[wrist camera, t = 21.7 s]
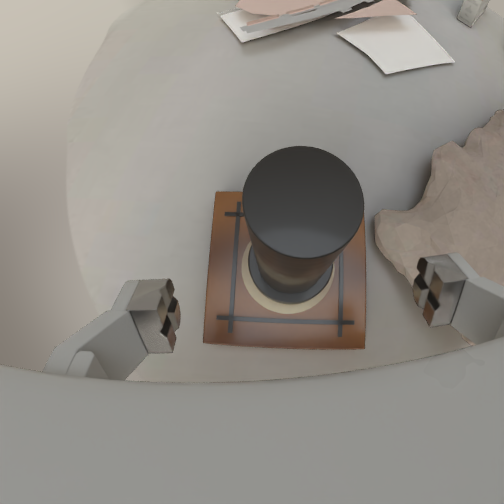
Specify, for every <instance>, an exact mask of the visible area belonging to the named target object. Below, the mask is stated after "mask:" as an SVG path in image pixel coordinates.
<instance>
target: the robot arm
mask: <svg viewBox="0 0 504 504" xmlns="http://www.w3.org/2000/svg"><path fill="white" fill-rule="evenodd" d="M417 270H418V272H419V274H418V275H417V276H416V278H415V279H414V283H413V296H414V300H415V302H416V304H417V306H419V307H421V308H422V309H424V311H423V316H424V318H425V320H426V321H427V323H428V325H429V327H430V328H431V327H437V326H443V325H448V324H451V326H452V327H454V328H455V329H456V330H458V331H459V332H460V333H461V334H463V335H464V336H465V337H467V338H468V339H469V340H471V341H472V342H473V343H474V344H476V345H474V346H470V347H466V348H463V349H459V350H455V351H451V352H447V353H443V354H439V355H434V356H430V357H426V358H421V359H416V360H411V361H406V362H401V363H396V364H391V365H385V366H380V367H374V368H368V369H361V370H355V371H348V372H341V373H333V374H326V375H317V376H308V377H298V378H287V379H275V380H261V381H242V382H209V383H175V382H143V381H125V379H126V378H127V377H128V376H129V375H130V374H131V373H132V372H133V371H134V370H135V369H136V367H137V366H138V365H139V364H140V363H141V362H142V361H143V360H144V359H145V358H146V357H147V356H148V354H149V353H173V350H174V346H175V342H176V335H175V331H176V330H177V329H178V328H179V325H180V307H179V303H178V300H177V299H176V298H174V297H173V293H174V290H175V289H174V286H173V283H172V281H171V280H170V279H149V280H130V281H127V282H125V284H124V286H123V287H122V289H121V291H120V293H119V295H118V297H117V299H116V301H115V303H114V305H113V307H112V309H111V311H106V312H104V313H103V314H101V315H100V316H99V317H97V318H96V319H94V320H93V321H92V322H90V323H89V324H87V325H86V326H85V327H83V328H82V329H80V330H79V331H77V332H76V333H75V334H73V335H72V336H71V337H69V338H68V339H66V340H65V341H63V342H62V343H61V344H59V345H58V346H56V347H55V349H54V350H53V352H52V354H51V356H50V358H49V360H48V362H47V363H46V365H45V367H44V369H43V371H42V372H41V371H35V370H29V369H23V368H18V367H12V366H7V365H2V364H0V504H504V286H502V285H500V284H498V283H496V282H494V281H491V280H489V279H487V278H485V277H480V276H479V275H478V274H477V273H476V272H475V270H474V269H473V268H472V267H471V266H470V265H469V264H468V263H467V261H466V260H465V259H464V258H463V257H462V256H461V255H460V254H459V253H456V252H454V253H448V254H443V255H435V256H427V257H420V259H419V261H418V263H417Z"/></svg>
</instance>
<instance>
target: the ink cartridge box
mask: <svg viewBox="0 0 504 504" xmlns="http://www.w3.org/2000/svg"><path fill="white" fill-rule="evenodd" d="M488 3H489V0H464V2H463V4H462V7H461V9H460V12H459V14H458V17H457V19H458V20H460V21H462V22H463V23H465V24H466V25H468V26H469V27H472V26H473V24H474V23H475V22H476V21H477V19H478V18H479V17H480V16H481V14H482V13H483V12H484V11H485V9H486V7H487V5H488Z"/></svg>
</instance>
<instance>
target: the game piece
mask: <svg viewBox="0 0 504 504" xmlns="http://www.w3.org/2000/svg"><path fill="white" fill-rule="evenodd" d="M242 207H243V213H244V217H245V220H246V224H247V228H248V232H249V235H250V239H251V243H252V245H251V247H250V251H249V256H248V267H249V272H250V275H251V278H252V280H253V282H254V284H255V285H256V287H257V288H258V290H259V291H260V292H261V293H262V294H263V295H265V296H266V297H267V298H269V299H271V300H273V301H275V302H278V303H282V304H289V305H290V304H300V303H303V302H306V301H308V300H311V299H312V298H314V297H315V296H316V295H318V294H319V293H320V292H321V291H322V290H323V289H324V288H325V286H326V285H327V283H328V282H329V280H330V278H331V275H332V271H333V264H334V261H335V260H336V258H337V257H338V256H339V255H340V254H341V252H342V251H343V250H344V249H345V247H346V246H347V245H348V244H349V242H350V241H351V240H352V238H353V237H354V236H355V234H356V233H357V231H358V229H359V227H360V225H361V222H362V219H363V214H364V197H363V192H362V189H361V186H360V184H359V181H358V179H357V178H356V176H355V174H354V173H353V172H352V170H351V169H350V168H349V167H348V166H347V165H346V164H345V163H344V162H343V161H342V160H340V159H339V158H338V157H336V156H334V155H333V154H331V153H329V152H327V151H324V150H321V149H318V148H314V147H307V146H294V147H287V148H283V149H280V150H277V151H275V152H273V153H271V154H269V155H267V156H266V157H265V158H263V159H262V160H261V161H260V162H258V163H257V164H256V166H255V167H254V168H253V169H252V171H251V172H250V174H249V175H248V177H247V179H246V182H245V185H244V188H243V193H242Z"/></svg>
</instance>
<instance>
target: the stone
mask: <svg viewBox="0 0 504 504" xmlns="http://www.w3.org/2000/svg"><path fill="white" fill-rule="evenodd" d="M431 164H432V168H431V177H430V179H429V181H428V184H427V186H426V188H425V191H424V194H423V197H422V199H421V201H420V202H419V203H418V204H417V205H416V206H415V207H414V208H413V209H410V210H407V211H396V210H386V209H383V210H381V211H380V212H379V213H378V214H376V215H375V243H376V245H377V246H378V248H379V249H380V251H381V252H382V254H383V255H384V257H385V258H387V259H388V260H389V261H391V262H392V263H393V265H394V267H395V268H396V270H397V271H398V272H400V273H401V274H403V275H405V277H406V278H407V280H408V281H409V283H410V284H411V286H412V288H413V283H414V279H415V278H416V276H417V275H418V274H419V272H418V270H417V263H418V261H419V259H420V257H427V256H435V255H443V254H448V253H454V252H456V253H459V254H460V255H461V256H462V257H463V258H464V259H465V260H466V261H467V263H468V264H469V265H470V266H471V267H472V268H473V269H474V270H475V272H476V273H477V274H478V275H479V276H480V277H485V278H487V279H489V280H491V281H494V282H496V283H498V284H500V285H502V286H504V109H503V110H498V111H496V112H495V114H494V116H492V117H490V121H489V122H488V123H487V124H486V125H485V126H484V127H483V128H480V127H478V128H475V129H473V130H472V131H471V132H470V134H469V136H468V138H467V139H466V141H465V146H464V147H463V148H461V147H460V146H459V145H457V144H456V143H455V142H454V141H451V142H448V143H447V144H445V145H442V146H440V147H439V148H437V149H435V150H434V151H433V155H432V160H431ZM450 325H451V324H450ZM461 336H462V338H463V339H464V340H465V341H466V342H468V343H469V344H470V345H472V346H474V345H476V344H474V343H473V342H472V341H471V340H469V339H468V338H467V337H465V336H464V335H463V334H461Z"/></svg>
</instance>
